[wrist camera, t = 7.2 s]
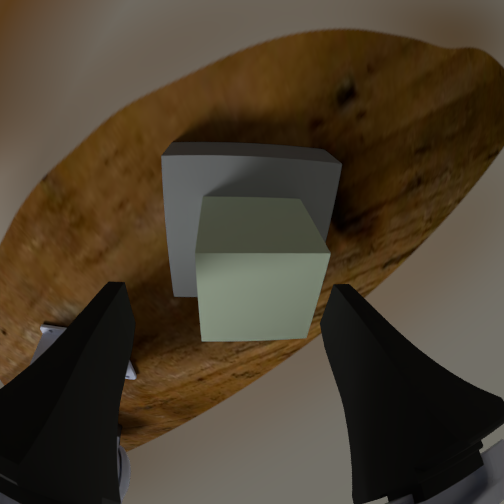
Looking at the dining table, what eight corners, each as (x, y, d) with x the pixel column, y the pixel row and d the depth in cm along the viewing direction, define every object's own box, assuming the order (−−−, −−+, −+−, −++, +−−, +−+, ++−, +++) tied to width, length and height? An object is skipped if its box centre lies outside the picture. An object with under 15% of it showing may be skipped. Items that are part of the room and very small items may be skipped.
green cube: (204, 274, 17) (201, 341, 13) (202, 196, 14) (194, 253, 10) (287, 274, 17) (306, 337, 13) (300, 198, 15) (330, 253, 11)
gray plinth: (178, 268, 20) (173, 296, 18) (171, 142, 15) (161, 155, 13) (301, 268, 21) (311, 295, 19) (323, 149, 16) (342, 164, 14)
